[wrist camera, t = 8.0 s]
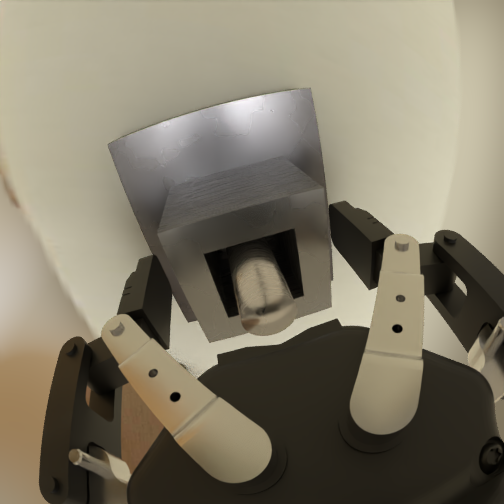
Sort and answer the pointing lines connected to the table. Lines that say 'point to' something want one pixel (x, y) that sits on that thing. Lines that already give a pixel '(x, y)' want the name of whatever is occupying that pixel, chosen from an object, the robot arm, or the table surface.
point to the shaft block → (216, 160)
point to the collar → (246, 238)
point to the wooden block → (135, 426)
